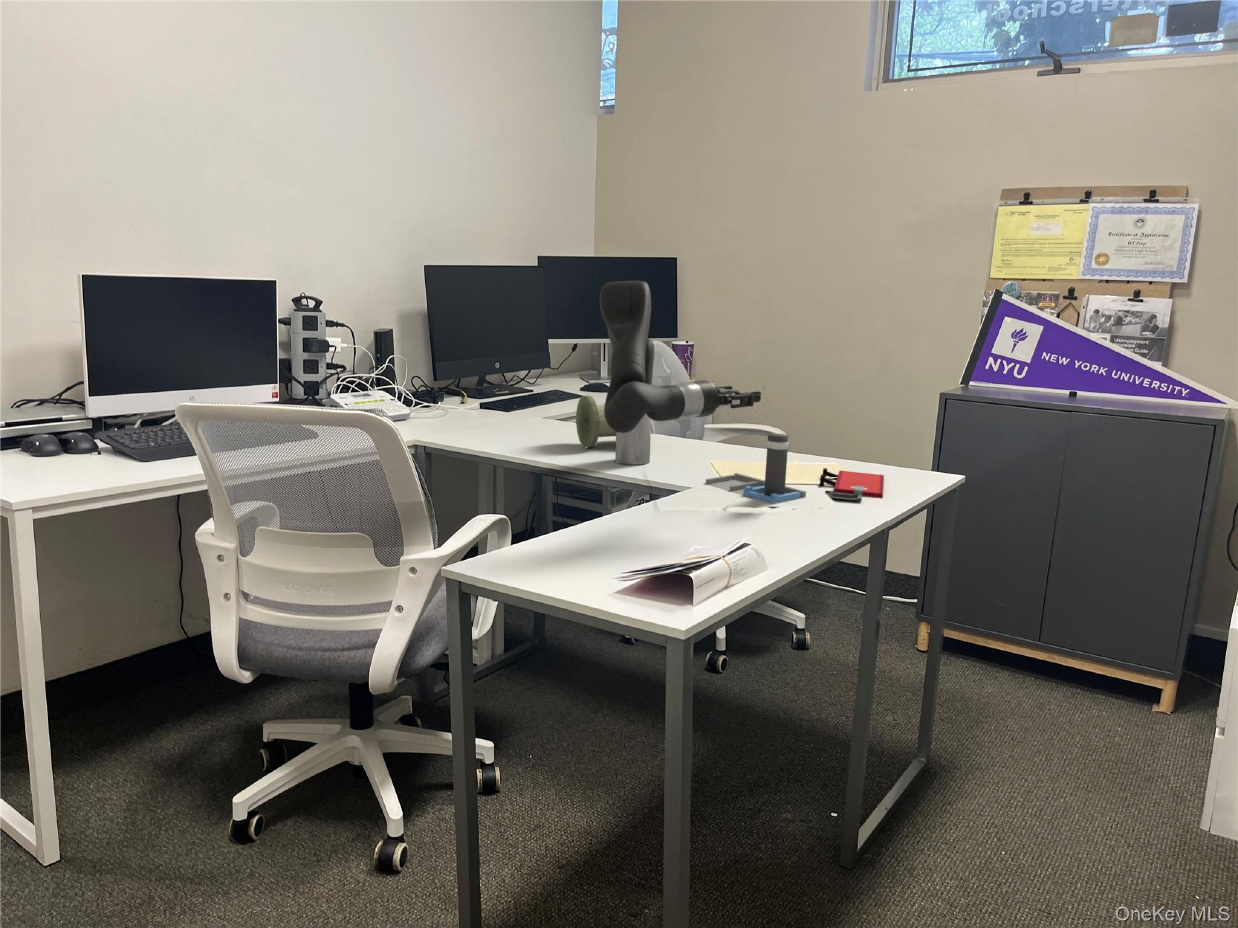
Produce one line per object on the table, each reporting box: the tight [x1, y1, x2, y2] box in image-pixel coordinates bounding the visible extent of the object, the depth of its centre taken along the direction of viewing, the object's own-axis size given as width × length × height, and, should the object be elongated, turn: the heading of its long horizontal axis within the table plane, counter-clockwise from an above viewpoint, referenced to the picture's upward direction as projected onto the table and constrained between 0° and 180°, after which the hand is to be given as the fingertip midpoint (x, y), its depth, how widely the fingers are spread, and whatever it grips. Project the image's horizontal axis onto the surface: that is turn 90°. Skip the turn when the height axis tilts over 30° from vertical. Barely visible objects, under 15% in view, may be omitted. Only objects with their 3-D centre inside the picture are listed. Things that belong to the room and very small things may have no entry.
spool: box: [575, 394, 616, 449], centre depth 261 cm, size 16×15×15 cm
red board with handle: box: [819, 467, 885, 502], centre depth 218 cm, size 30×3×15 cm
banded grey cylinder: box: [764, 433, 790, 497], centre depth 202 cm, size 5×5×14 cm
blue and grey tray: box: [704, 472, 807, 510], centre depth 208 cm, size 22×11×3 cm, turn 38°
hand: (745, 393), depth 193 cm, fingers open, 8 cm apart
